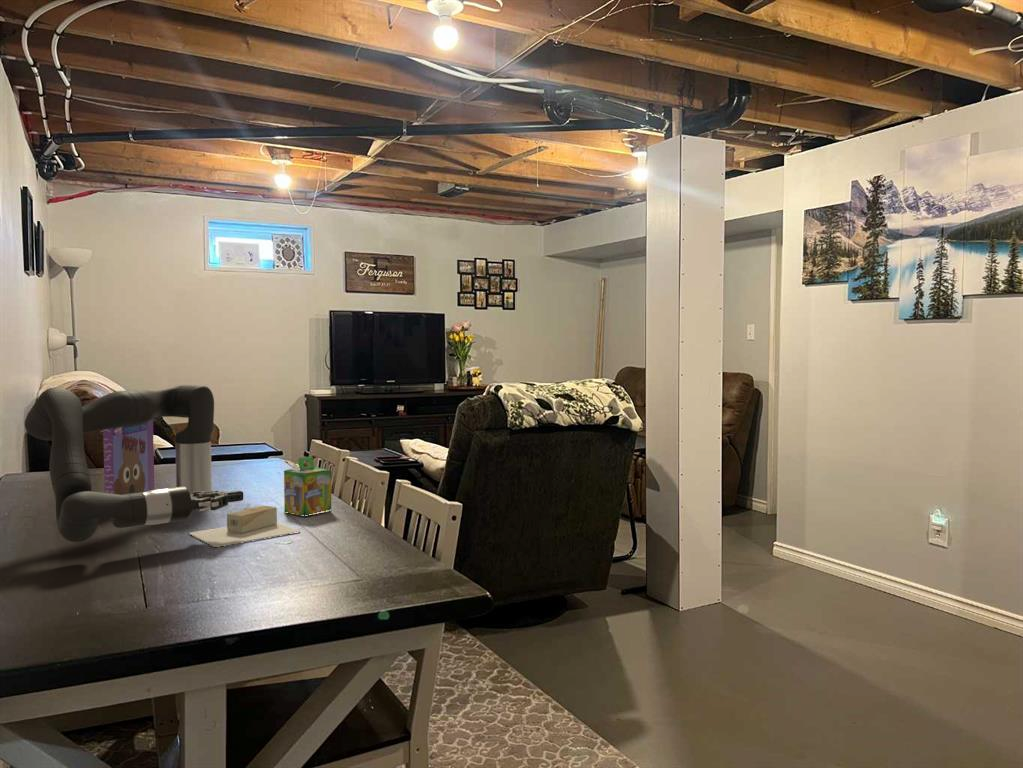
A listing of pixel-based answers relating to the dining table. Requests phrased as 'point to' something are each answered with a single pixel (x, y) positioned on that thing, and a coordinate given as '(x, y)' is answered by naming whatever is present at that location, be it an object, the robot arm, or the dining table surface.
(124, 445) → the cereal box
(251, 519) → the box
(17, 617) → the dining table surface
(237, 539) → the mat
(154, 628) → the dining table surface
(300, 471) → the chalk box
